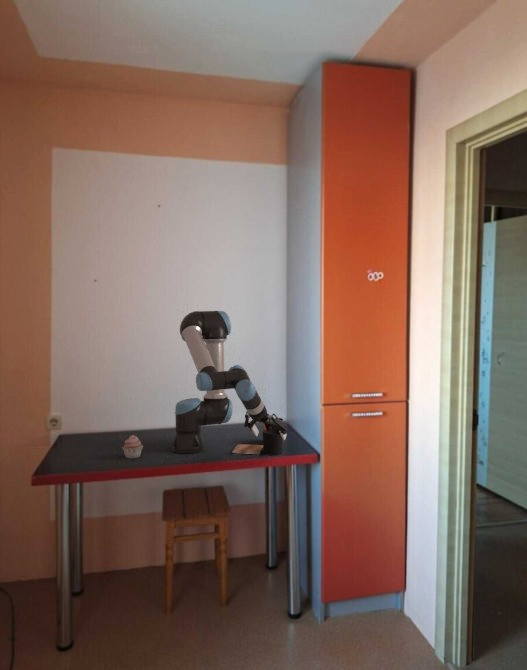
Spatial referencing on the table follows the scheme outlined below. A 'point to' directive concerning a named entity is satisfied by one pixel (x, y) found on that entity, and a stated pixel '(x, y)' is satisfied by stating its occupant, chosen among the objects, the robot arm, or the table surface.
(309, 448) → the table surface
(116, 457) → the table surface
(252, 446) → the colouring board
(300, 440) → the table surface
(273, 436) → the pen holder
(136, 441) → the cupcake
